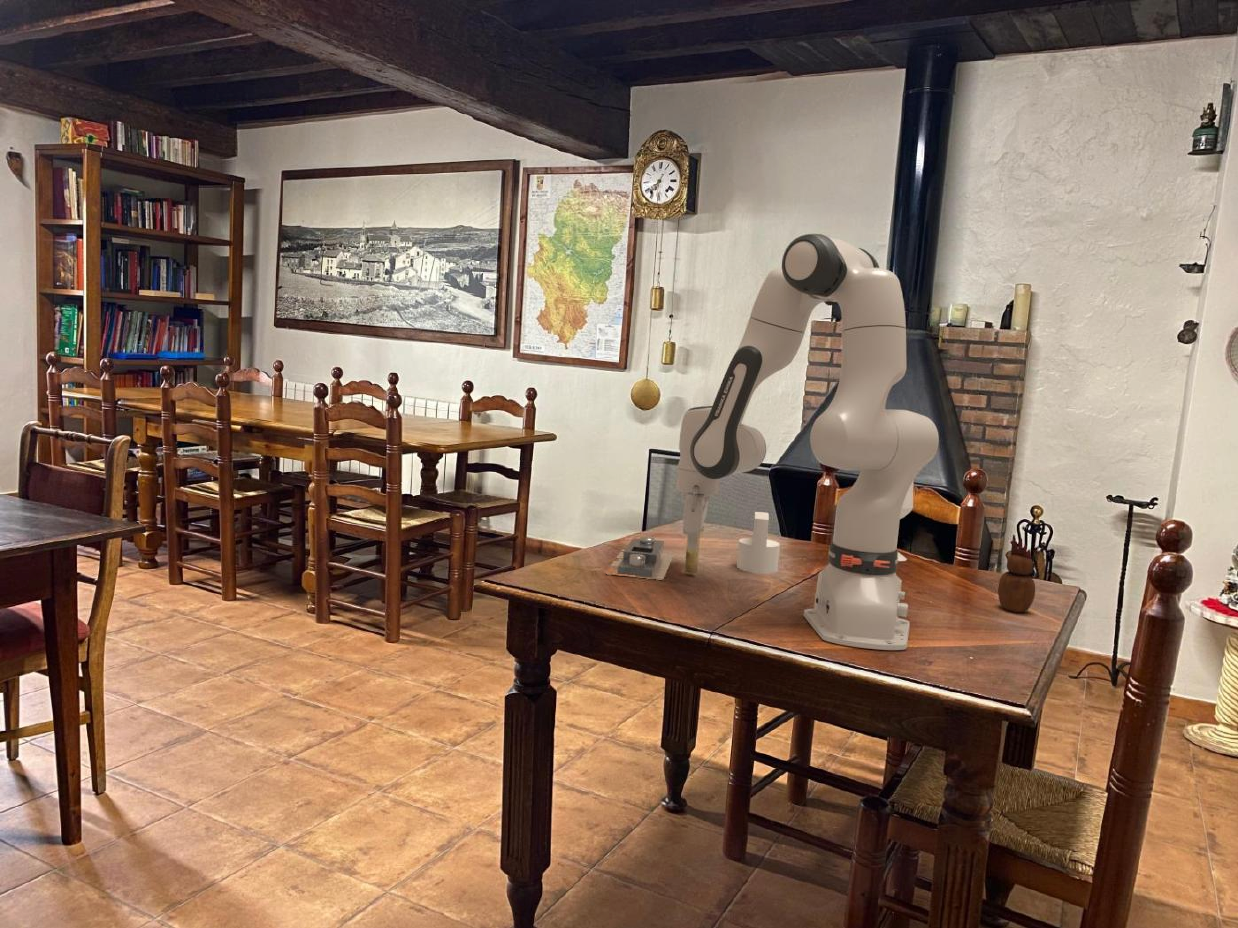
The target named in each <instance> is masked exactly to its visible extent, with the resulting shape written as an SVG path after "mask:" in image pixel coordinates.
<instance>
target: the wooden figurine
mask: <svg viewBox="0 0 1238 928" xmlns="http://www.w3.org/2000/svg"><path fill="white" fill-rule="evenodd" d="M1017 544H1018V545H1017ZM1027 547H1028V546H1027V544H1023V538H1020V539H1019V543H1017V540H1016V534H1013V535H1012V540H1011V547H1010V555H1009V556H1008V558H1007V561H1006V570H1007V571H1005V572H1004V573H1003V574H1002V575H1001V576H1000V578H999V583H998V587H997V591H998V592H997V593H998V600H999V603H1000V606H1001V607H1002V608H1003V609H1005V610H1007V611H1008V610H1009V612H1012V611H1013V612H1012V613H1018V612H1020V613H1025V612H1027V611H1029V609H1030V608H1031V606H1032V604H1033V602H1034V598H1035V596H1036V584H1035V581H1034V578H1032V577H1031V576H1030V574H1031V573H1032V571H1033V568H1034V563H1033V562H1034V561H1033V560H1032V559H1033V558H1032V554H1031V549H1028V548H1027Z"/></svg>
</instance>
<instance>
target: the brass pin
mask: <svg viewBox="0 0 1238 928" xmlns="http://www.w3.org/2000/svg"><path fill="white" fill-rule="evenodd" d="M704 529H705V526H704V524H703V527H702V530H701V533H702V532H704ZM686 535H687V536H686V552H685V562H684V563H685V565H684V572H685V573H687V574H697V573H698V568H699V567H698V565H699V550H700V539H701V538H700V537H701V534H700V535H698V540H697V549H696V550H695V551H691V550H688V534H686Z"/></svg>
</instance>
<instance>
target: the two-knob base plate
mask: <svg viewBox="0 0 1238 928" xmlns="http://www.w3.org/2000/svg"><path fill="white" fill-rule="evenodd" d="M664 547H665V541H664V540H656V539H655V537H653V536H644V535H643V536H640V537H639V538H635V537H633V538H632V539H630V542H629V544H628V545H627V546H626V548H625V549H621V550H620V552H619V553H618V554H617V556H616V557H615V559H616V558H623V559H622V560H621V559H619V561H614V560H613V561H612V562H611V565H610V566H618V570H617V572H616V573H614V572H613V573H614V574H627V575H635V576H636V577H642V578H650V579H657V580H656V581H658V580H663V579H664V580H665V578H664V577H666V575H667V573H668V571H667V570H669V567H670V566H671V564H672V562H673V559H674V557H675V556H674V554H670V553H663V550H664ZM621 551H624V553H623V552H621ZM673 556H674V557H673ZM672 558H673V559H672ZM670 563H671V564H670ZM613 573H612V574H613ZM664 580H663V581H664Z"/></svg>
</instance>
